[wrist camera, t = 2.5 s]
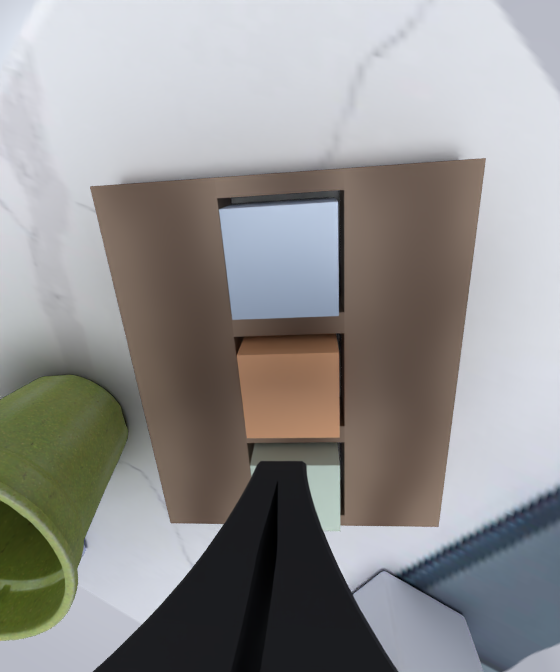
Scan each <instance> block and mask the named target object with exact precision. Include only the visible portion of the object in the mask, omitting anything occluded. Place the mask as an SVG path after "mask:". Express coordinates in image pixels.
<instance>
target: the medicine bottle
mask: <svg viewBox="0 0 560 672" xmlns="http://www.w3.org/2000/svg"><path fill="white" fill-rule="evenodd" d="M353 596H354V598H355V600H356V602H357V604H358V606H359V608H360V610H361V611H362V613H363V615H364V616H365V618H366V620H367V621H368V623H369V625H370V627H371V628H372V630H373V632H374V633H375V635H376V637H377V638H378V640H379V642H380V643H381V645H382V647H383V648H384V650H385V652H386V653H387V655H388V656H389V658H390V659H391V661H392V663H393V664H394V666H395V667H396V669H397V670H398V672H483V669H482V666H481V663H480V660H479V657H478V654H477V652H476V649H475V646H474V643H473V640H472V637H471V634H470V631H469V628H468V626H467V623H466V620H465V618H464V616H463V615H461V614H459V613H458V612H456V611H454V610H452V609H451V608H449V607H447V606H445V605H444V604H442V603H440V602H438V601H437V600H435V599H433V598H431V597H430V596H428V595H426V594H424V593H423V592H421V591H419V590H417V589H416V588H414V587H412V586H410V585H409V584H407V583H405V582H403V581H402V580H400V579H398V578H396V577H395V576H393V575H391V574H389V573H388V572H385V571H382V572H381V573H379V574H378V575H377V576H376V577H374V578H373V579H372V580H371V581H369V582H368V583H367V584H365V585H364V586H363V587H362V588H360V589H359V590H358V591H357V592H355V593H354V594H353Z"/></svg>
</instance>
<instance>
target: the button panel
mask: <svg viewBox="0 0 560 672" xmlns="http://www.w3.org/2000/svg"><path fill="white" fill-rule="evenodd" d="M485 160H486V158H482V159H468V160H454V161H440V162H426V163H412V164H398V165H384V166H370V167H356V168H342V169H328V170H314V171H300V172H286V173H272V174H259V175H245V176H231V177H217V178H203V179H189V180H175V181H161V182H147V183H133V184H119V185H105V186H91V187H90V189H91V193H92V197H93V201H94V205H95V210H96V214H97V218H98V222H99V226H100V230H101V235H102V239H103V243H104V247H105V251H106V255H107V260H108V264H109V268H110V272H111V276H112V281H113V285H114V289H115V293H116V297H117V301H118V306H119V310H120V314H121V318H122V322H123V326H124V331H125V335H126V339H127V343H128V347H129V351H130V356H131V360H132V364H133V368H134V372H135V376H136V381H137V385H138V389H139V393H140V397H141V401H142V406H143V410H144V414H145V418H146V422H147V426H148V431H149V435H150V439H151V443H152V447H153V451H154V456H155V460H156V464H157V468H158V472H159V476H160V481H161V485H162V489H163V493H164V497H165V501H166V506H167V510H168V514H169V518H170V522H171V523H196V524H224V523H225V522H226V520H227V519H228V517H229V515H230V514H231V512H232V510H233V509H234V507H235V505H236V504H237V502H238V500H239V499H240V497H241V495H242V493H243V492H244V490H245V488H246V486H247V484H248V483H249V481H250V479H251V469H250V463H251V459H252V454H253V449H254V444H255V443H317V442H341V480H340V525H345V526H420V527H438V526H439V519H440V511H441V503H442V495H443V487H444V480H445V472H446V464H447V456H448V448H449V441H450V433H451V425H452V417H453V410H454V402H455V394H456V386H457V378H458V371H459V363H460V355H461V347H462V339H463V332H464V324H465V316H466V308H467V301H468V293H469V285H470V277H471V269H472V262H473V254H474V246H475V238H476V230H477V223H478V215H479V207H480V199H481V192H482V184H483V176H484V168H485ZM335 190H340V294H339V316H323V317H296V318H268V319H241V320H232V313H231V304H230V296H229V288H228V280H227V271H226V263H225V255H224V247H223V238H222V230H221V222H220V214H219V209H221V208H224V207H226V206H228V205H231V198H230V197H245V196H260V195H275V194H290V193H305V192H320V191H335ZM333 333H340V368H341V397H339V406H340V438H247V436H246V428H245V420H244V411H243V403H242V395H241V387H240V378H239V370H238V362H237V353H238V351H239V348H240V346H241V344H242V341H243V339H244V336H271V335H302V334H333Z"/></svg>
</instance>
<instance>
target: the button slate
mask: <svg viewBox="0 0 560 672" xmlns="http://www.w3.org/2000/svg"><path fill="white" fill-rule="evenodd" d="M219 214H220V222H221V230H222V238H223V247H224V255H225V263H226V271H227V280H228V288H229V296H230V304H231V313H232V320H241V319H268V318H296V317H323V316H339V263H338V201H337V200H336V199H335V198H334V197H331V198H316V199H300V200H285V201H270V202H254V203H239V204H231V205H228V206H226V207H224V208H221V209H219Z"/></svg>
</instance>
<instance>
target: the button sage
mask: <svg viewBox="0 0 560 672" xmlns="http://www.w3.org/2000/svg"><path fill="white" fill-rule="evenodd" d="M260 461H303V462H304V463H305V464H307V478H308V483H309V488H310V492H311V496H312V499H313V503H314V506H315V509H316V512H317V515H318V518H319V521H320V524H321V526H322V529H323V531H340V461H339V451H338V442H317V443H255V444H254V449H253V454H252V459H251V463H250V469H251V477H252V475H253V472H254V470H255V468H256V466H257V464H258V463H259V462H260Z"/></svg>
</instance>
